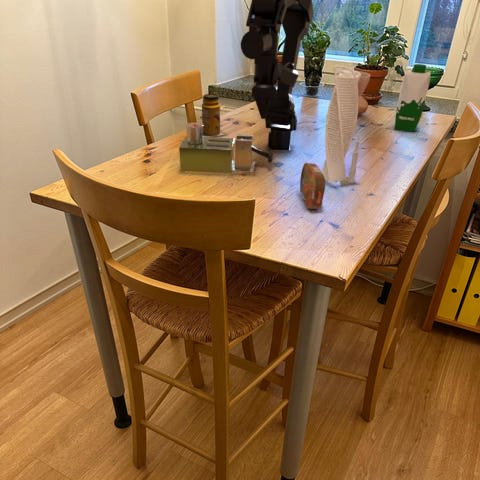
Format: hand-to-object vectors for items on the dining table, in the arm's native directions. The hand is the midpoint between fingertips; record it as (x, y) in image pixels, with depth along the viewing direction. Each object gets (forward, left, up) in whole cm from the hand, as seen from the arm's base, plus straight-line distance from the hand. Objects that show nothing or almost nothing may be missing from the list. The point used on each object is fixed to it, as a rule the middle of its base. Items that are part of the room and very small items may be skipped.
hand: (263, 118), depth 126 cm
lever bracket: (+5, +4, -13) cm, 14 cm away
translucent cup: (+18, +4, -6) cm, 20 cm away
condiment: (+19, -28, -13) cm, 36 cm away
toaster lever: (+2, +4, -8) cm, 9 cm away
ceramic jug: (-31, -62, -13) cm, 71 cm away
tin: (-13, +24, -13) cm, 30 cm away
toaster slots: (+12, +4, -6) cm, 14 cm away
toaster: (+15, +4, -13) cm, 20 cm away
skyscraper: (-20, +9, -13) cm, 26 cm away
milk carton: (-50, -45, -13) cm, 69 cm away
